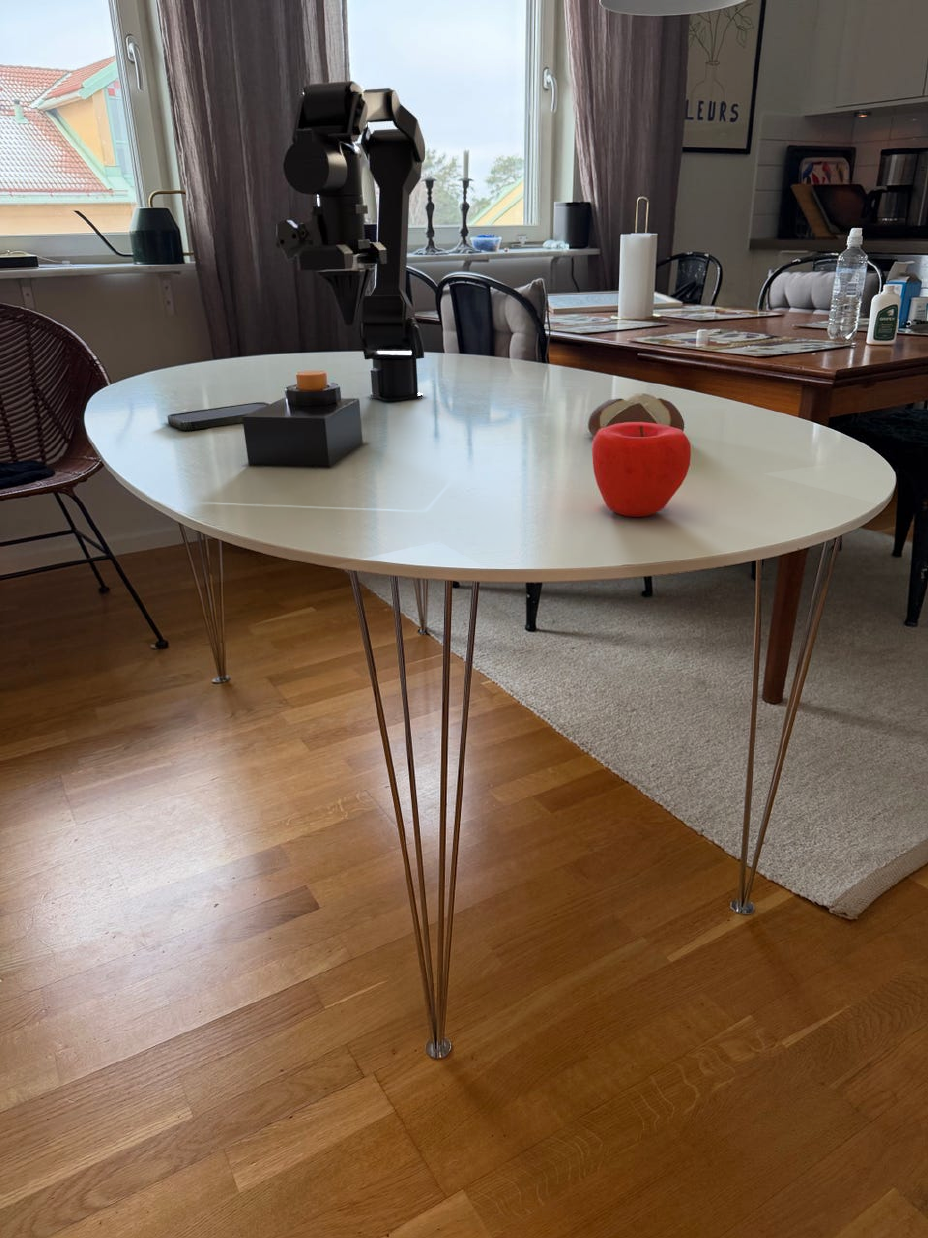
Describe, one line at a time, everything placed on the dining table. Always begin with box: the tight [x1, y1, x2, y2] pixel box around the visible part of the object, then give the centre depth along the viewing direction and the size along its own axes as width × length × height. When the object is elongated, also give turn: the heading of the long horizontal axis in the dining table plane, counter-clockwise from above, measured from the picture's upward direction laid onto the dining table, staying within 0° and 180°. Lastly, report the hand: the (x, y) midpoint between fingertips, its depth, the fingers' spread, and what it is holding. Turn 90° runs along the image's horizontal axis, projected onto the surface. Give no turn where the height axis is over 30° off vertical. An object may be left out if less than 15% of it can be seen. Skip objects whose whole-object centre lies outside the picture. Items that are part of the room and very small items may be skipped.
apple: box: [591, 422, 692, 518], centre depth 78 cm, size 9×9×8 cm
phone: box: [166, 401, 270, 431], centre depth 124 cm, size 8×1×15 cm
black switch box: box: [242, 381, 364, 469], centre depth 103 cm, size 13×10×8 cm
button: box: [295, 370, 328, 390], centre depth 104 cm, size 4×4×2 cm
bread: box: [587, 392, 685, 437], centre depth 106 cm, size 11×11×5 cm
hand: (350, 324), depth 116 cm, fingers closed
